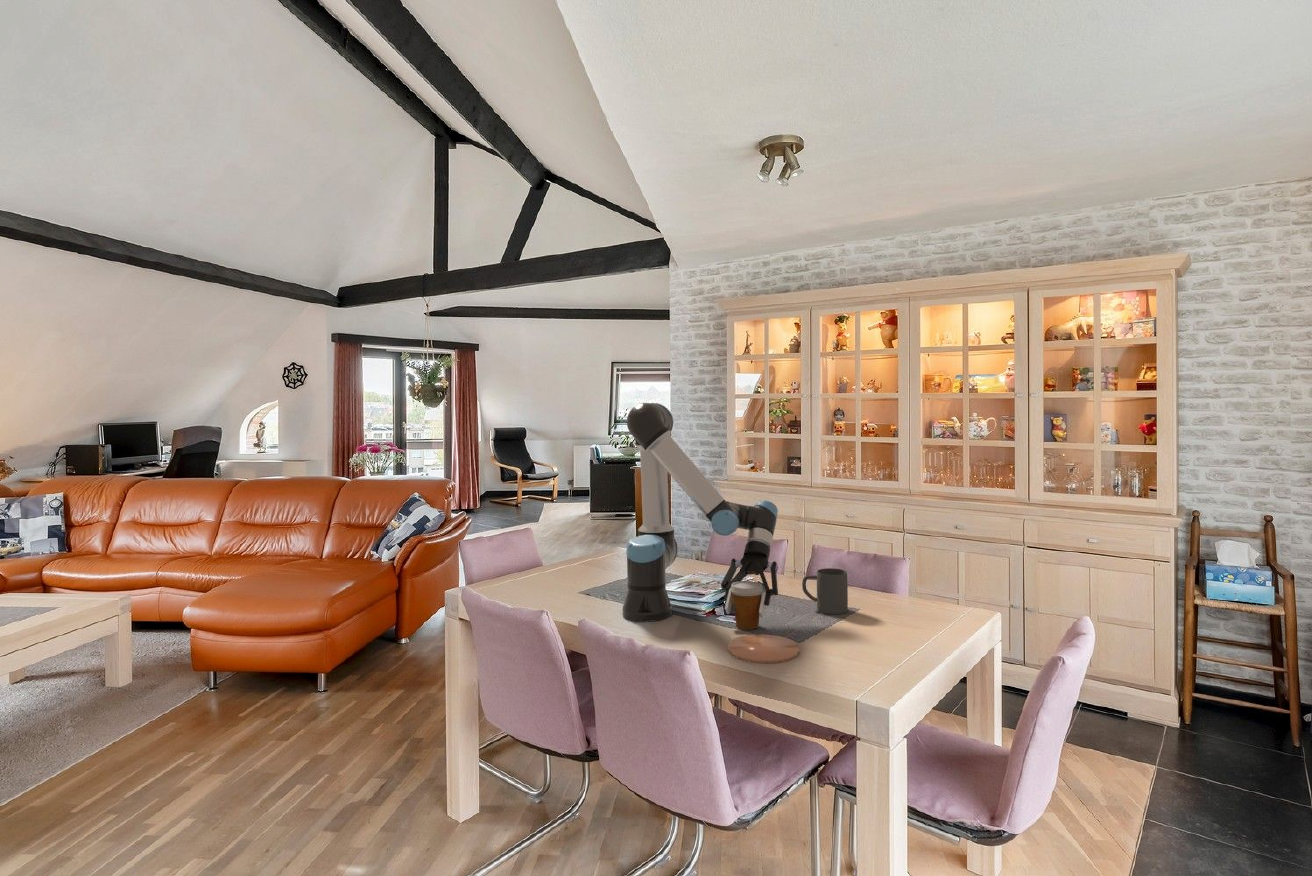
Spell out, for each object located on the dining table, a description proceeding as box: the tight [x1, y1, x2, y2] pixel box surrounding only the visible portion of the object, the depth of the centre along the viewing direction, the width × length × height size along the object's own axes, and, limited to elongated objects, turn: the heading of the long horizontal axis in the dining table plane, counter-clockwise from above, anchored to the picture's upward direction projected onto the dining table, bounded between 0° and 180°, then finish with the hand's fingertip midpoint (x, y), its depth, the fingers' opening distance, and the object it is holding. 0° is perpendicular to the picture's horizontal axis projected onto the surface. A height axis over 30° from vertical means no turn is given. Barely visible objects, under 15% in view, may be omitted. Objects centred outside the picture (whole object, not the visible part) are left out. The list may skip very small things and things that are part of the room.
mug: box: [801, 567, 849, 615], centre depth 209 cm, size 14×9×12 cm
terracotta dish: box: [727, 633, 800, 664], centre depth 174 cm, size 18×18×1 cm
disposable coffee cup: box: [730, 580, 765, 630], centre depth 194 cm, size 10×10×12 cm
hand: (743, 613), depth 191 cm, fingers closed on disposable coffee cup, 9 cm apart
